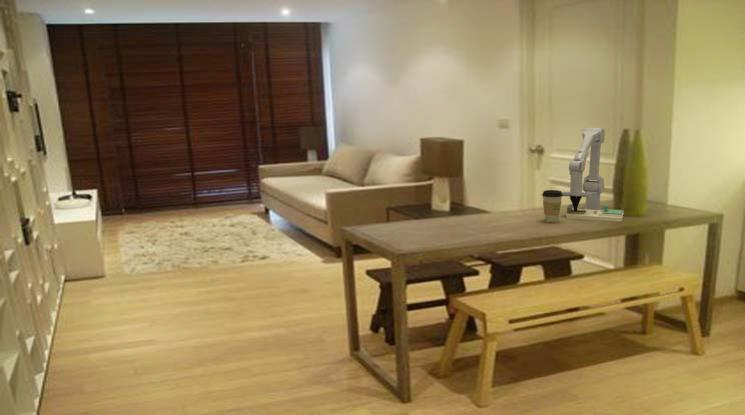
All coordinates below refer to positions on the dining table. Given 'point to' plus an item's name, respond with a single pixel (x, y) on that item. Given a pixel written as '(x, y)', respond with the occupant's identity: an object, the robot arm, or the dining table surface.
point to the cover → (611, 211)
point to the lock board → (594, 216)
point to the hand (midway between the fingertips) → (575, 210)
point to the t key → (570, 209)
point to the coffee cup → (552, 205)
